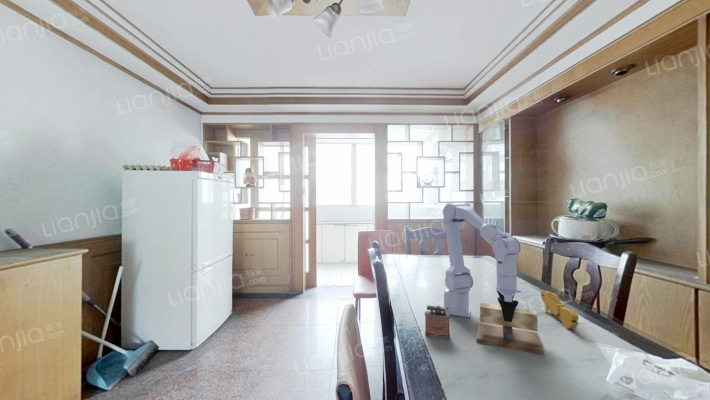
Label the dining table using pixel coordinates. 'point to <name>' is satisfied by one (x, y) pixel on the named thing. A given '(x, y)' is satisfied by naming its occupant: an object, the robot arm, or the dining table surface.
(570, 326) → the decorative fish
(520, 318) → the pine batten
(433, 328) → the lighter
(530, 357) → the dining table surface
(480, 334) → the ridge stand
